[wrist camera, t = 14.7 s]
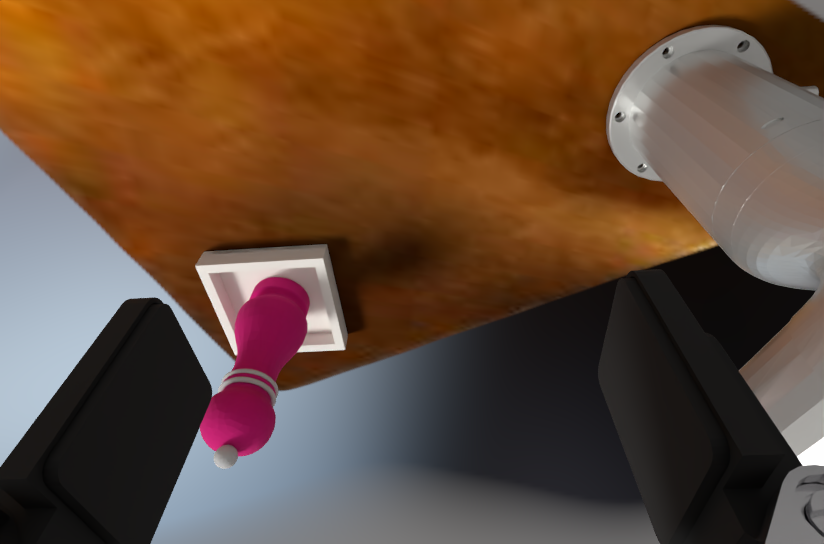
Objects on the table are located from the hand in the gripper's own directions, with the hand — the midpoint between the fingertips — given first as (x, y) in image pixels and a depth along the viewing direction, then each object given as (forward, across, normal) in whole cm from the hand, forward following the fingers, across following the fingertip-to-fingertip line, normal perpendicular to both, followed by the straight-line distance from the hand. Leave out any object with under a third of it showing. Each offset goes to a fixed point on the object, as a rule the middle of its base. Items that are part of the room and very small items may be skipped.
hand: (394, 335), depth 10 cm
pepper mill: (+33, +17, +26) cm, 45 cm away
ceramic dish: (+33, +17, +26) cm, 46 cm away
